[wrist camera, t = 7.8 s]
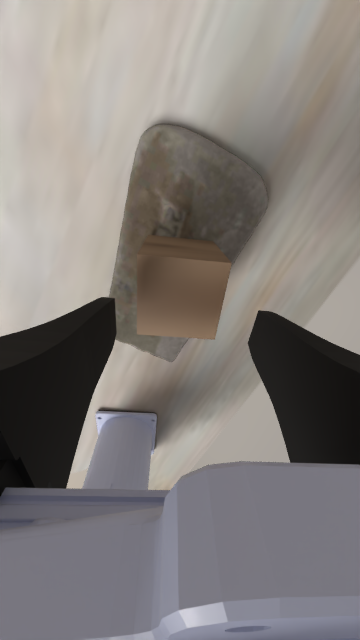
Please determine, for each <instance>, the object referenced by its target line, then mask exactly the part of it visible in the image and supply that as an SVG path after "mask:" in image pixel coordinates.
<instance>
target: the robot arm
mask: <svg viewBox="0 0 360 640" xmlns="http://www.w3.org/2000/svg"><path fill="white" fill-rule="evenodd" d="M116 334H117V329H116V309H115V298H106V297H101V298H98V299H96V300H94V301H92V302H90V303H88V304H86V305H84V306H82V307H80V308H78V309H76V310H74V311H72V312H70V313H68V314H66V315H63V316H61V317H59V318H57V319H54V320H52V321H50V322H47V323H44V324H41V325H39V326H36V327H33V328H30V329H27V330H23V331H20V332H16V333H12V334H9V335H5V336H2V337H0V640H360V355H358V354H356V353H354V352H351V351H349V350H347V349H344V348H342V347H339V346H337V345H335V344H333V343H331V342H328V341H327V340H325V339H323V338H321V337H319V336H316V335H315V334H313V333H311V332H309V331H307V330H305V329H304V328H302V327H300V326H298V325H296V324H295V323H293V322H291V321H289V320H287V319H285V318H284V317H282V316H280V315H278V314H275V313H273V312H270V311H258V314H257V317H256V320H255V323H254V326H253V329H252V332H251V335H250V338H249V341H248V345H249V349H250V353H251V356H252V359H253V362H254V364H255V366H256V368H257V371H258V373H259V375H260V377H261V379H262V381H263V383H264V386H265V388H266V390H267V392H268V394H269V396H270V399H271V401H272V404H273V406H274V409H275V412H276V415H277V418H278V421H279V424H280V428H281V431H282V434H283V438H284V441H285V444H286V448H287V452H288V456H289V459H290V463H279V462H245V461H239V462H230V463H221V464H213V465H207V466H204V467H202V468H200V469H197V470H195V471H193V472H190V473H188V474H186V475H183V476H182V477H181V478H180V479H179V480H178V481H177V483H176V484H175V485H174V486H173V488H172V489H171V490H148V482H149V471H150V459H151V455H152V454H154V446H155V434H156V422H157V415H156V414H155V413H135V412H113V411H97V412H96V415H95V416H96V423H97V430H98V439H97V442H96V445H95V449H94V452H93V455H92V458H91V462H90V465H89V468H88V471H87V475H86V478H85V481H84V485H83V488H82V489H66V486H67V483H68V479H69V475H70V471H71V467H72V463H73V460H74V456H75V452H76V449H77V445H78V441H79V438H80V434H81V431H82V428H83V424H84V421H85V418H86V414H87V411H88V408H89V405H90V402H91V399H92V395H93V393H94V390H95V388H96V385H97V383H98V381H99V379H100V376H101V374H102V372H103V370H104V367H105V365H106V363H107V361H108V358H109V356H110V354H111V351H112V349H113V345H114V342H115V338H116Z"/></svg>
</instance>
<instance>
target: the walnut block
mask: <svg viewBox="0 0 360 640" xmlns="http://www.w3.org/2000/svg"><path fill="white" fill-rule="evenodd" d="M231 265H232V263H231V262H230V260H229V259H228V258H227V257H226V256H225V255H224V253H223V252H222V251H221V250H220V249H219V247H218V246H217V245H216V244H215V243H214V242H213V241H205V240H195V239H186V238H176V237H166V236H156V235H148V236H147V238H146V239H145V241H144V243H143V245H142V246H141V248H140V250H139V251H138V253H137V334H139V335H154V336H169V337H185V338H200V339H215V336H216V331H217V327H218V322H219V318H220V314H221V309H222V305H223V300H224V296H225V291H226V287H227V282H228V278H229V273H230V269H231Z"/></svg>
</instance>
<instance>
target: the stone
mask: <svg viewBox="0 0 360 640" xmlns="http://www.w3.org/2000/svg"><path fill="white" fill-rule="evenodd" d="M267 205H268V195H267V190H266V188H265V185H264V182H263V179H262V178H261V176H260V175H259V174H258V173H257V172H256V171H255V170H254V169H252V168H251V167H250V166H248V164H247V163H245V162H244V161H242V160H241V159H239V158H238V157H236V156H235V155H233V154H232V153H230V152H228V151H226V150H224V149H223V148H221V147H220V146H218V145H216V144H215V143H213V142H212V141H210V140H208V139H207V138H205V137H202V136H200V135H198V134H196V133H195V132H192V131H190V130H188V129H186V128H183V127H180V126H174V125H155V126H152V127H151V128H149V129H147V130H146V131H145V132H144V133H143V134H142V136H141V138H140V140H139V144H138V147H137V150H136V153H135V158H134V163H133V168H132V172H131V177H130V183H129V187H128V195H127V200H126V205H125V211H124V218H123V223H122V228H121V233H120V240H119V246H118V251H117V257H116V262H115V268H114V273H113V280H112V285H111V289H110V295H109V298H115V309H116V329H117V334H116V338H115V339H116V340H118V341H120V342H123V343H127V344H130V345H131V346H133V347H135V348H137V349H139V350H141V351H144V352H148V353H150V354H152V355H154V356H156V357H160V358H162V359H165V360H167V361H169V362H173V361H174V360H175V358H176V357H177V355H178V354H179V352H180V350H181V348H182V347H183V345H184V344H185V343H186V341H187V340H188V338H185V337H169V336H154V335H139V334H137V253H138V251H139V250H140V248H141V246H142V245H143V243H144V241H145V239H146V238H147V236H148V235H156V236H166V237H176V238H186V239H195V240H205V241H213V242H214V243H215V244H216V245H217V246H218V247H219V249H220V250H221V251H222V252H223V253H224V255H225V256H226V257H227V258H228V259H229V260H230V262H231V263H232V265H233V263H234V261H235V260H236V258H237V257H238V255H239V253H240V252H241V250H242V248H243V246H244V245H245V243H246V242H247V241H248V239H249V238H250V237H251V235H252V233H253V231H254V230H255V228H256V226H257V225H258V223H259V222H260V220H261V218H262V216H263V215H264V213H265V211H266V209H267ZM232 265H231V266H232Z"/></svg>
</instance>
